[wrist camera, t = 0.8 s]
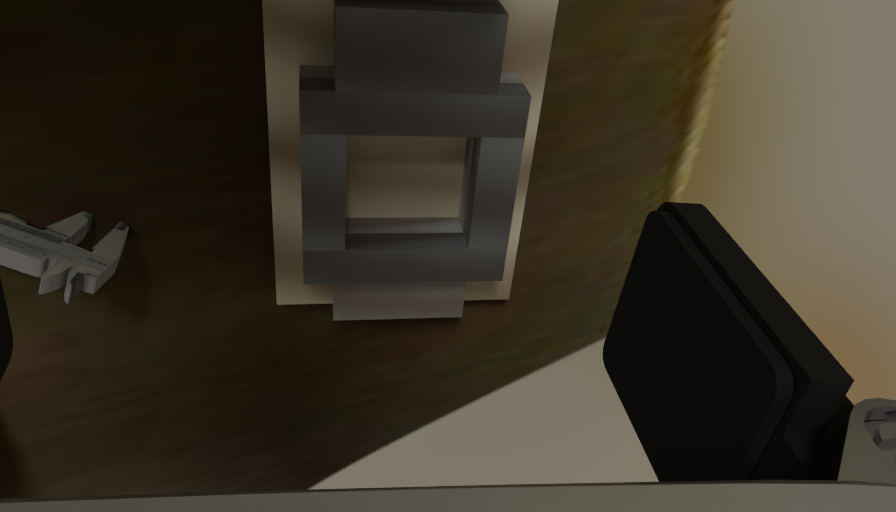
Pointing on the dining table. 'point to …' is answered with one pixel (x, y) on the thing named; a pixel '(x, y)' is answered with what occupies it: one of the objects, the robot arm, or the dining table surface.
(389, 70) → the gray stepped fixture base
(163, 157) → the dining table surface
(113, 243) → the caliper
